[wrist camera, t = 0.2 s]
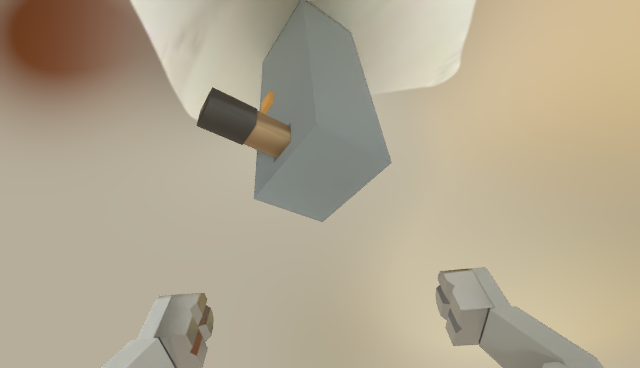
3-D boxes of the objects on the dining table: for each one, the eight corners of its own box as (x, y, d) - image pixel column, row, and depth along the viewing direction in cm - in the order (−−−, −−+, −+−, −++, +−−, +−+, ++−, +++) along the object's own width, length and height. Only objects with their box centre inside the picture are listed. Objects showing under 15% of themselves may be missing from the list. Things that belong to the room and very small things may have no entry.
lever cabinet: (299, -5, 51) (311, 121, 31) (351, 32, 56) (391, 162, 36) (259, 61, 59) (249, 197, 38) (308, 88, 64) (322, 221, 44)
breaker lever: (212, 87, 33) (208, 103, 31) (337, 148, 41) (339, 163, 39) (200, 109, 35) (196, 125, 33) (322, 163, 43) (324, 179, 41)
